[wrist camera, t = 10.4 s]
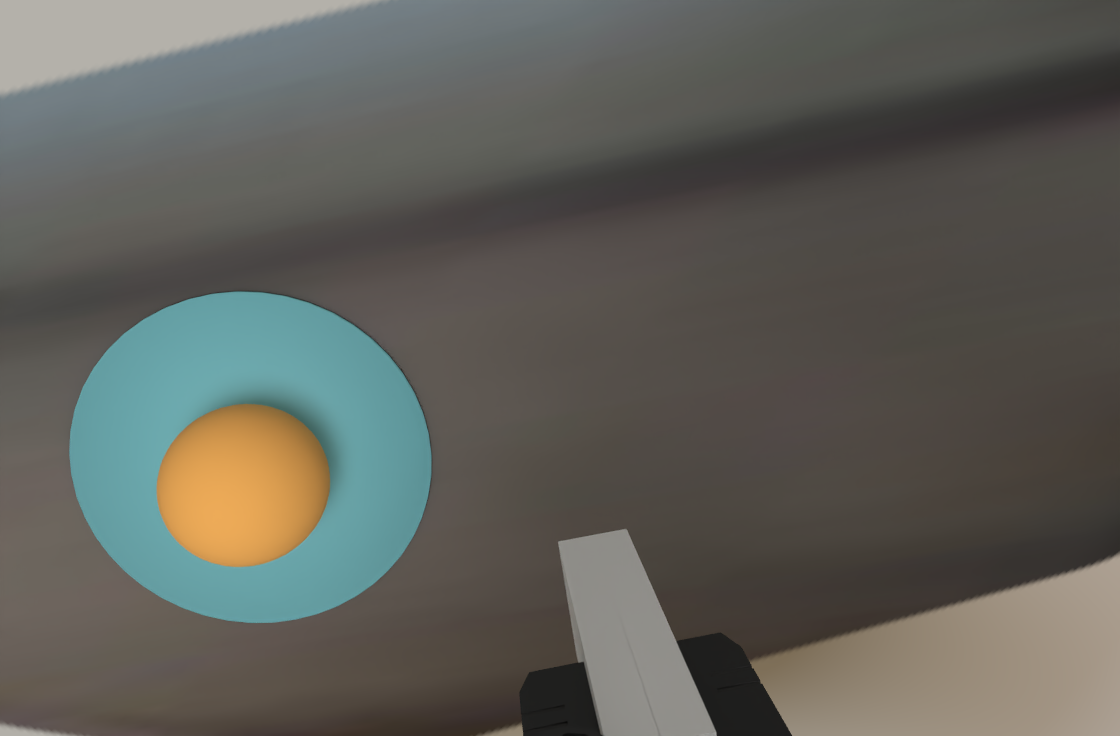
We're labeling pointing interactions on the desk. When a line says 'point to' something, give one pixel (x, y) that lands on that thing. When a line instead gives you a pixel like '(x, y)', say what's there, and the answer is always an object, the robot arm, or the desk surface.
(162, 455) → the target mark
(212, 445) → the ball
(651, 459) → the desk surface
